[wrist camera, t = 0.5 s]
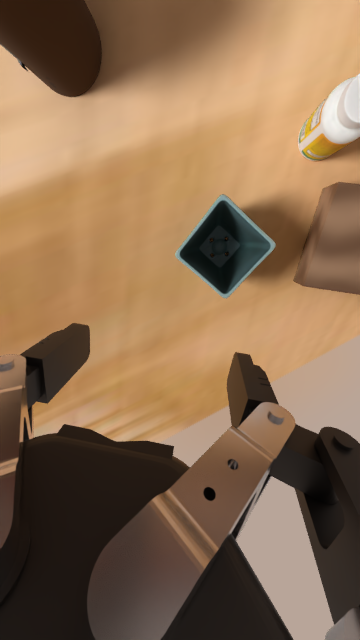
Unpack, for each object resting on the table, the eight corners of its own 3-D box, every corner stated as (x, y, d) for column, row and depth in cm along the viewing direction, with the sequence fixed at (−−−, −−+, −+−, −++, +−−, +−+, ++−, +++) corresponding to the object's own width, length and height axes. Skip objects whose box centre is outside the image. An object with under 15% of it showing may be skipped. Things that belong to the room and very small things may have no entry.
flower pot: (260, 242, 34) (278, 245, 26) (221, 285, 37) (225, 300, 29) (218, 202, 33) (222, 191, 25) (180, 250, 36) (173, 255, 27)
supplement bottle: (291, 127, 29) (330, 79, 20) (335, 102, 28) (397, 38, 19) (303, 170, 30) (344, 143, 21) (345, 148, 29) (407, 109, 20)
